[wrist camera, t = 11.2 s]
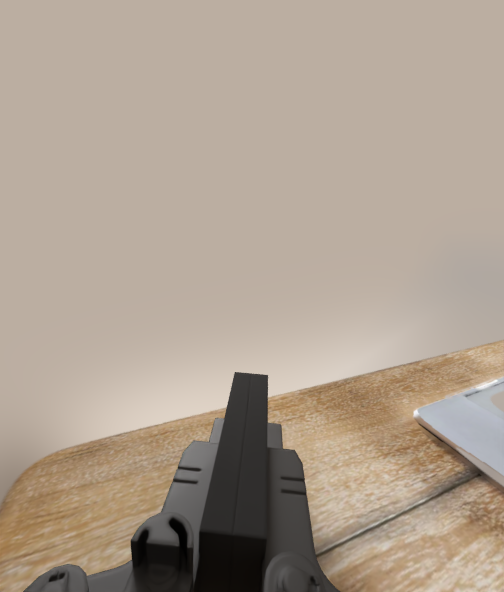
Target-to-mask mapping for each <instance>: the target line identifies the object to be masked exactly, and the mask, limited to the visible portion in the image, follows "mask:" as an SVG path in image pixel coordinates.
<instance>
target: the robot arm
mask: <svg viewBox="0 0 504 592" xmlns="http://www.w3.org/2000/svg"><path fill="white" fill-rule="evenodd" d="M267 423H268V375H260V374H249V373H239V372H235V374H234V378H233V383H232V388H231V392H230V396H229V401H228V405H227V409H226V414H225V418H224V423H223V427H222V432H221V436H220V440H219V443H213V442H203V441H193V442H192V443H191V444H190V445H189V446H188V447H187V449H186V450H185V451H184V452H183V454H182V457H181V460H180V462H179V465H178V469H177V470H176V473H175V476H174V479H173V482H172V484H171V487H170V489H169V492H168V495H167V497H166V500H165V503H164V506H163V508H162V511H161V513H159V514H157V515H155V516H152V517H150V518H149V519H148V520H146V521H145V522H144V523H143V524H142V525H141V526H140V527H139V528H138V529H137V531H136V533H135V534H134V536H133V538H132V539H131V552H132V560H130V561H129V562H127V563H126V564H124V565H122V566H119V567H117V568H114V569H110V570H107V571H103V572H99V573H96V574H92V575H89V576H86V573H85V572H84V571H83V570H82V569H81V568H80V567H79V566H76V565H70V564H66V565H62V566H58V567H55V568H53V569H51V570H49V571H48V572H46V573H44V574H43V575H41V576H39V577H38V578H37V579H36V580H35V581H34V582H33V583H32V584H31V585H30V586H29V587H28V588H26V589H25V590H24V591H23V592H340V591H339V590H338V589H336V588H335V587H334V586H333V585H332V584H331V583H330V581H329V580H328V579H327V578H326V576H325V575H324V573H323V572H322V570H321V568H320V566H319V563H318V561H317V558H316V554H315V550H314V543H313V536H312V529H311V521H310V514H309V507H308V500H307V496H306V486H305V478H304V471H303V464H302V462H301V460H300V459H299V457H298V455H297V453H296V452H295V450H290V449H280V448H270V447H267Z"/></svg>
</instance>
